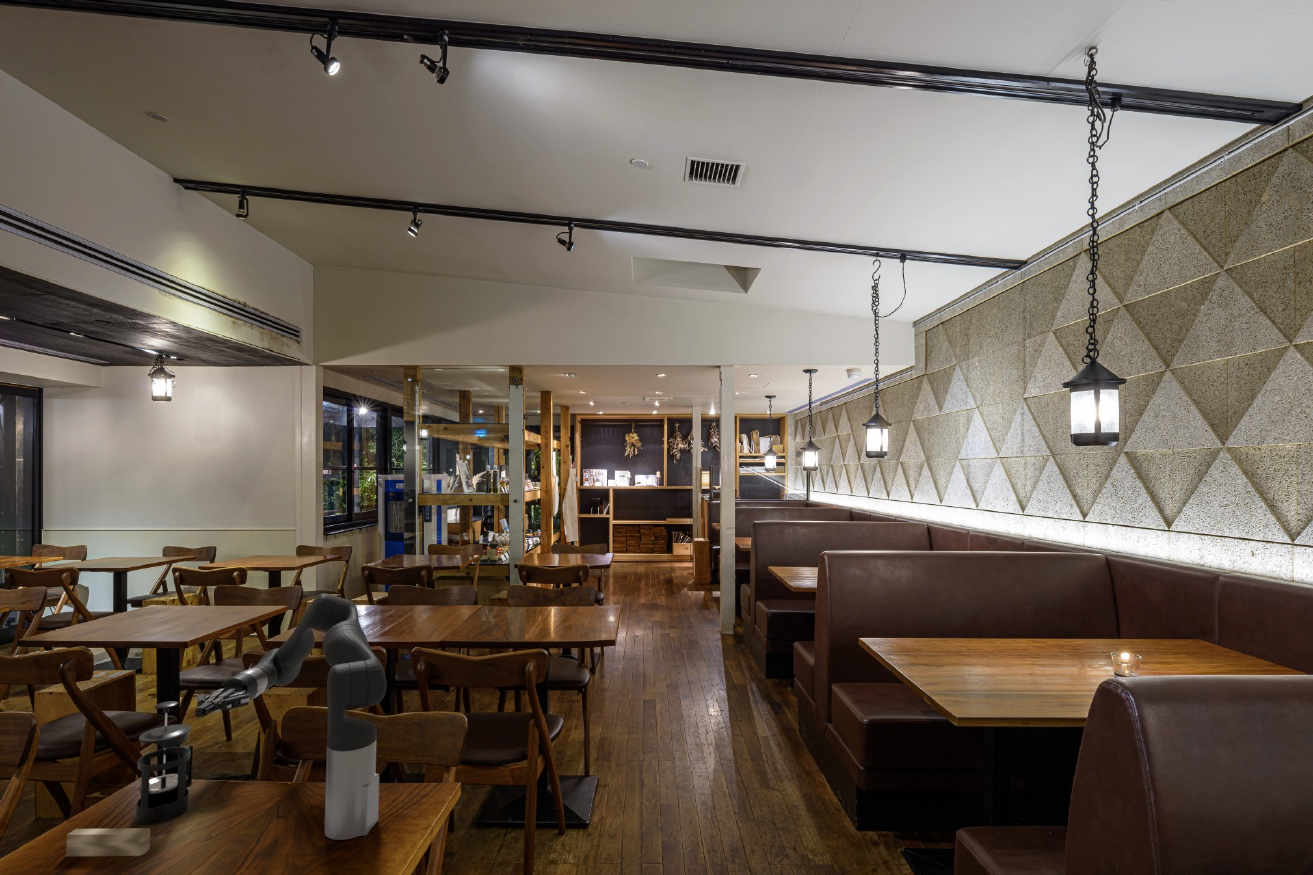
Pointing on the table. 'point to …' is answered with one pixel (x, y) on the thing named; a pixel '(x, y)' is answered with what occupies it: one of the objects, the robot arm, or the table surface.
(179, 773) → the french press
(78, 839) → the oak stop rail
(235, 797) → the table surface
